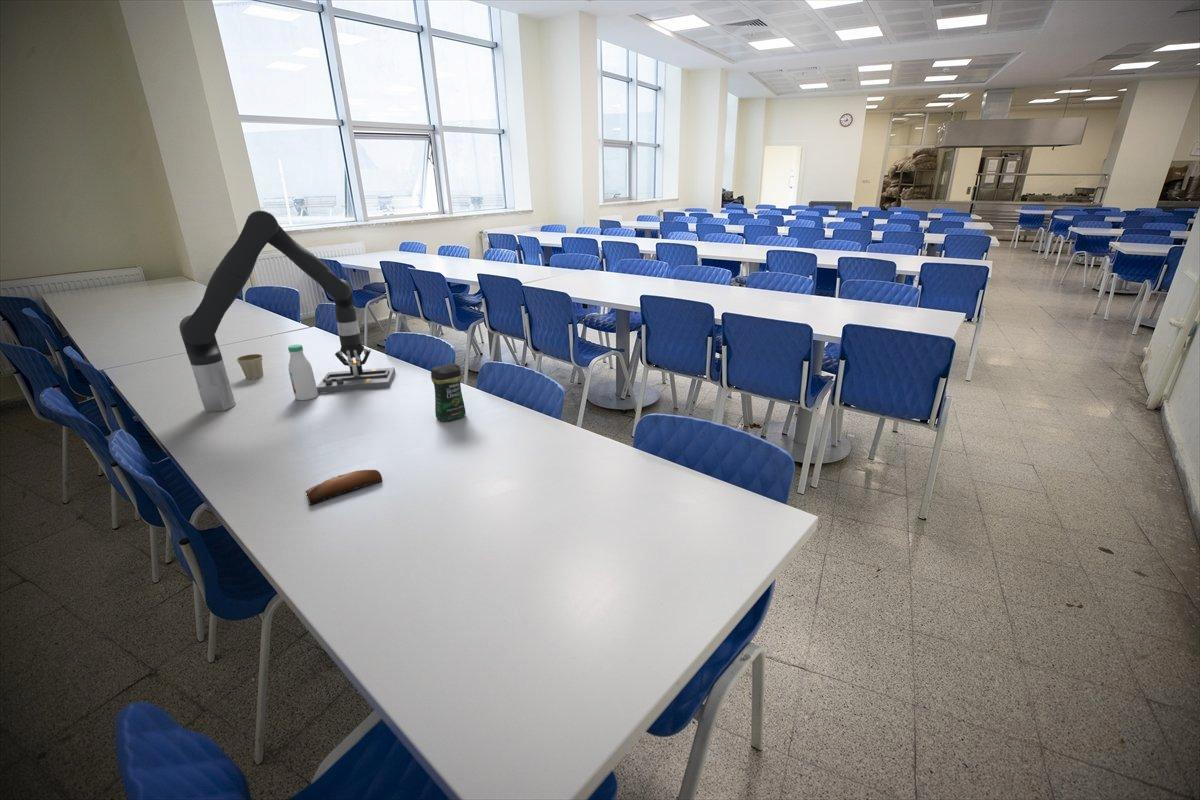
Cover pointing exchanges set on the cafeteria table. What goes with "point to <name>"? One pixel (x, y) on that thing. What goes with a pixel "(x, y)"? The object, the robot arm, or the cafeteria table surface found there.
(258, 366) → the flower pot
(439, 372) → the coffee jar
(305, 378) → the milk bottle
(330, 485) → the sunglasses case
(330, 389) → the console
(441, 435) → the cafeteria table surface
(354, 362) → the fader tab
